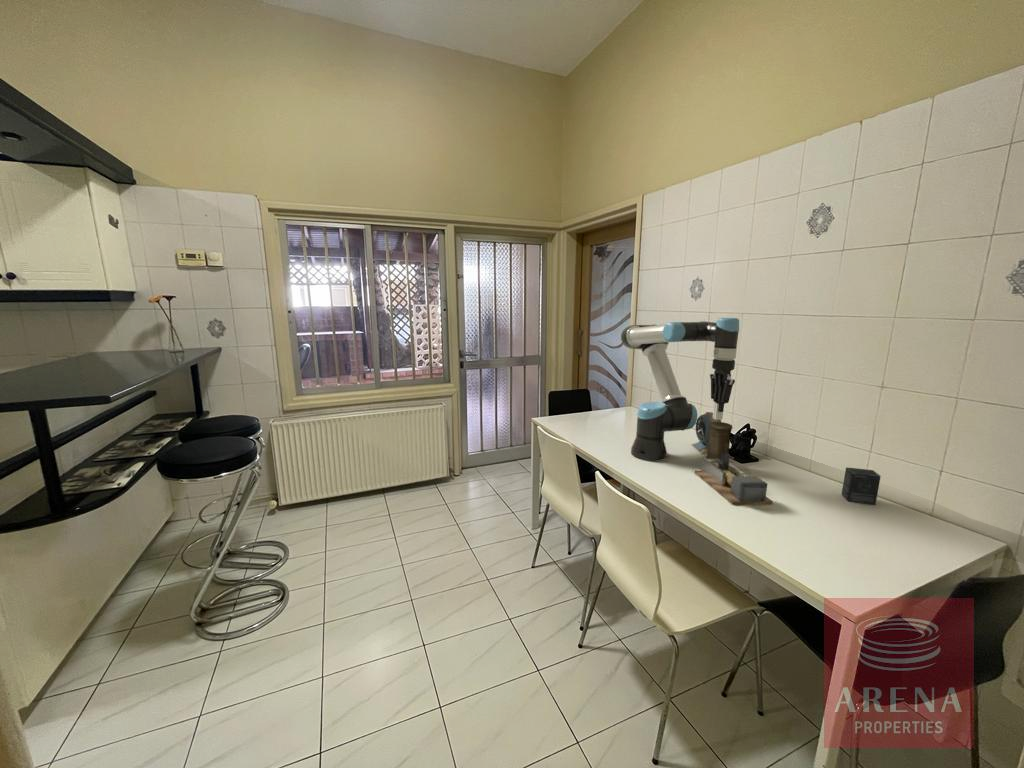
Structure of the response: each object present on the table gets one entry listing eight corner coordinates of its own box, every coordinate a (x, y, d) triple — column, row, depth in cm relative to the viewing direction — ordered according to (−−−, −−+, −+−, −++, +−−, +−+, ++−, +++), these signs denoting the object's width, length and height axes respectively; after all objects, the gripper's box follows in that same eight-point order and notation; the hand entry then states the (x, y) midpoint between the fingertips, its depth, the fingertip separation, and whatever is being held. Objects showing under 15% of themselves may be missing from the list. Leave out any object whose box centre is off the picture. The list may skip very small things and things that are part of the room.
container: (706, 468, 165) (710, 426, 162) (703, 460, 174) (707, 420, 170) (730, 471, 162) (735, 428, 159) (726, 463, 171) (731, 422, 167)
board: (694, 472, 161) (694, 470, 160) (728, 472, 161) (728, 470, 161) (732, 504, 135) (732, 502, 135) (772, 504, 136) (772, 501, 136)
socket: (730, 493, 141) (732, 476, 140) (753, 493, 141) (756, 476, 140) (740, 501, 135) (742, 483, 134) (765, 501, 135) (767, 483, 134)
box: (867, 498, 140) (873, 469, 138) (875, 505, 135) (881, 476, 133) (840, 494, 143) (845, 466, 141) (847, 501, 138) (852, 472, 136)
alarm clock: (690, 443, 194) (693, 408, 191) (710, 444, 194) (714, 408, 190) (702, 454, 180) (706, 416, 177) (724, 455, 180) (729, 417, 176)
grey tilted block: (702, 470, 160) (703, 458, 159) (721, 470, 161) (722, 458, 160) (721, 486, 147) (723, 473, 146) (742, 485, 147) (744, 472, 146)
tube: (708, 471, 159) (711, 447, 157) (718, 471, 159) (721, 447, 157) (729, 487, 145) (732, 461, 143) (739, 487, 146) (743, 461, 144)
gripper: (705, 356, 158) (699, 414, 163) (724, 361, 145) (717, 424, 150) (723, 356, 159) (717, 414, 163) (744, 361, 145) (737, 424, 150)
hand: (717, 418), depth 156 cm, fingers closed
